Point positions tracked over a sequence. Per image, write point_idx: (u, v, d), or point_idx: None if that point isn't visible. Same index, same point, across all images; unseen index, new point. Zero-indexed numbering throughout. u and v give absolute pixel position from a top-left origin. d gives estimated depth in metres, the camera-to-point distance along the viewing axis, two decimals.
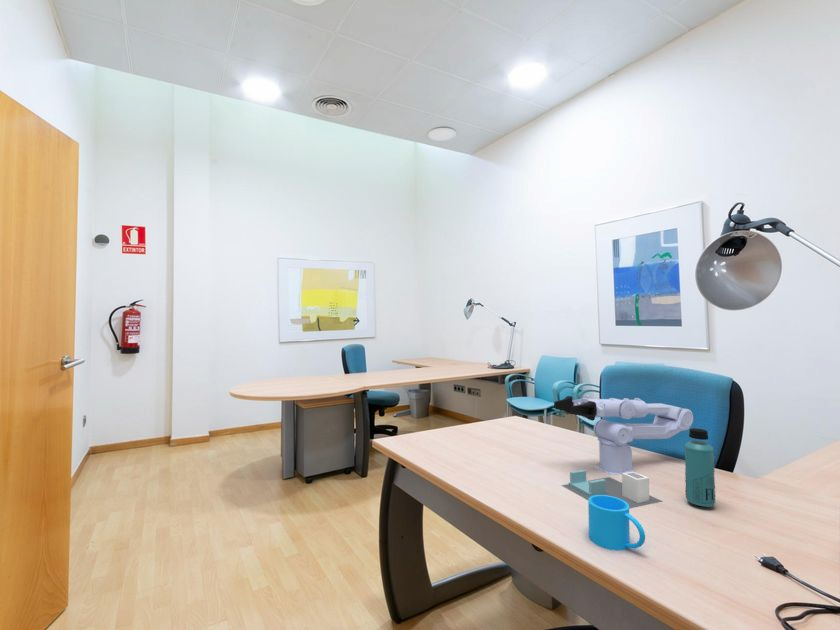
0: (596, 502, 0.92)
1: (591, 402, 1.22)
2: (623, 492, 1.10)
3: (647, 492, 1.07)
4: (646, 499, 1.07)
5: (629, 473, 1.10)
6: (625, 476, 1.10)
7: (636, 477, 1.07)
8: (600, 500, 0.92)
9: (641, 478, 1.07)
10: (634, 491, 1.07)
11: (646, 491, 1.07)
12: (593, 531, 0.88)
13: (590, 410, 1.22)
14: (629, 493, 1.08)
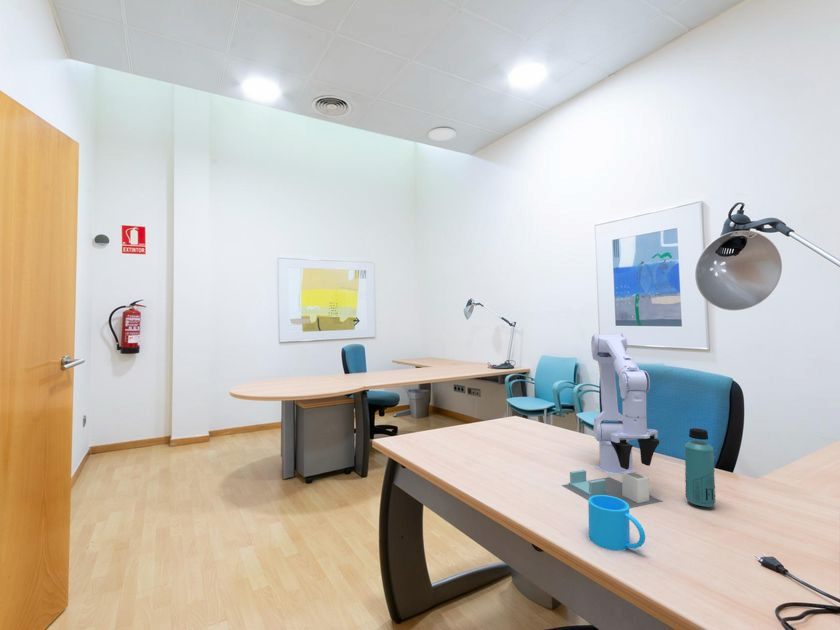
0: (596, 502, 0.92)
1: (656, 443, 1.08)
2: (623, 492, 1.10)
3: (647, 492, 1.07)
4: (646, 499, 1.07)
5: (629, 473, 1.10)
6: (625, 476, 1.10)
7: (636, 477, 1.07)
8: (600, 500, 0.92)
9: (641, 478, 1.07)
10: (634, 491, 1.07)
11: (646, 491, 1.07)
12: (593, 531, 0.88)
13: None
14: (629, 493, 1.08)
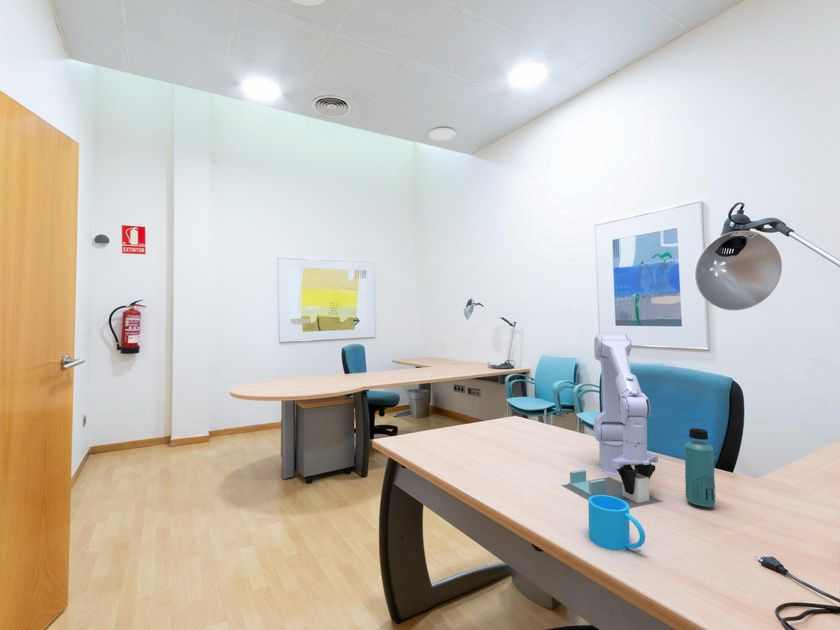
0: (596, 502, 0.92)
1: (653, 469, 1.08)
2: (623, 492, 1.10)
3: (647, 492, 1.07)
4: (646, 499, 1.07)
5: None
6: None
7: (636, 477, 1.07)
8: (600, 500, 0.92)
9: (641, 478, 1.07)
10: (634, 491, 1.07)
11: (646, 491, 1.07)
12: (593, 531, 0.88)
13: None
14: None
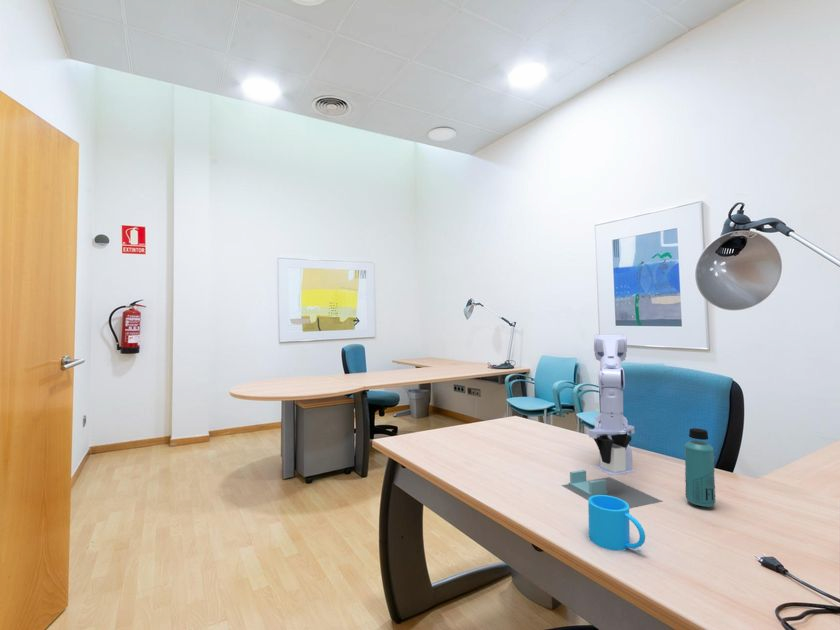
0: (596, 502, 0.92)
1: (629, 439, 1.11)
2: (601, 462, 1.13)
3: (623, 462, 1.10)
4: (622, 468, 1.10)
5: None
6: None
7: (613, 447, 1.10)
8: (599, 500, 0.92)
9: (617, 448, 1.10)
10: (611, 460, 1.10)
11: (622, 461, 1.10)
12: (593, 531, 0.88)
13: None
14: (606, 463, 1.11)
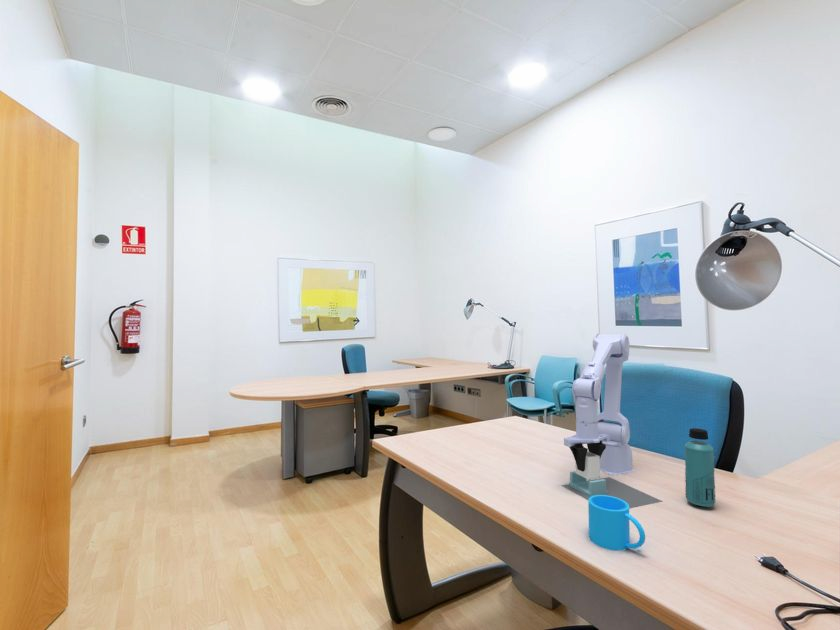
0: (596, 502, 0.92)
1: (603, 448, 1.14)
2: (576, 470, 1.16)
3: (598, 469, 1.13)
4: (596, 476, 1.13)
5: None
6: None
7: (588, 455, 1.13)
8: (600, 500, 0.92)
9: (592, 456, 1.13)
10: (585, 468, 1.13)
11: (596, 469, 1.13)
12: (593, 531, 0.88)
13: None
14: None
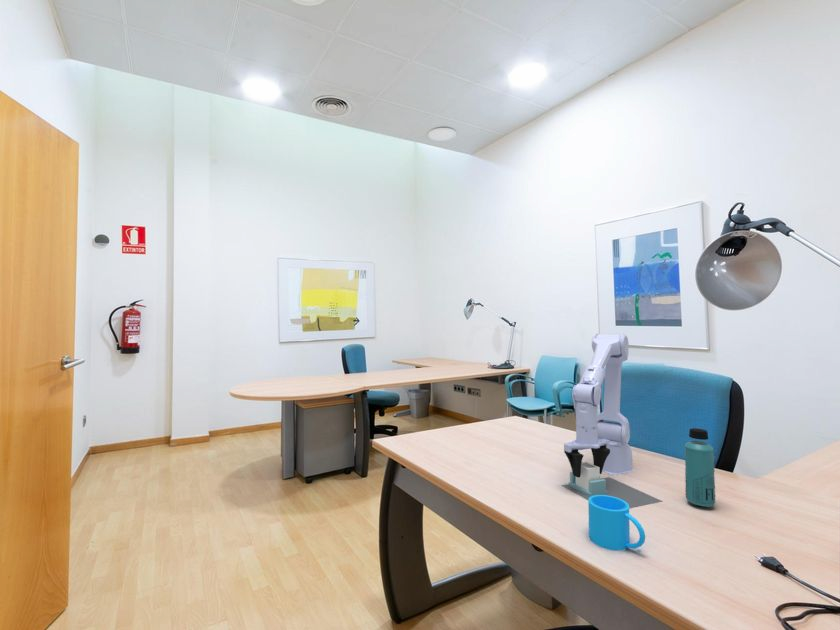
0: (596, 502, 0.92)
1: (607, 452, 1.14)
2: (576, 481, 1.16)
3: None
4: None
5: (582, 463, 1.16)
6: None
7: (588, 467, 1.13)
8: (600, 500, 0.92)
9: (592, 467, 1.13)
10: (585, 480, 1.13)
11: None
12: (593, 531, 0.88)
13: None
14: (581, 482, 1.14)
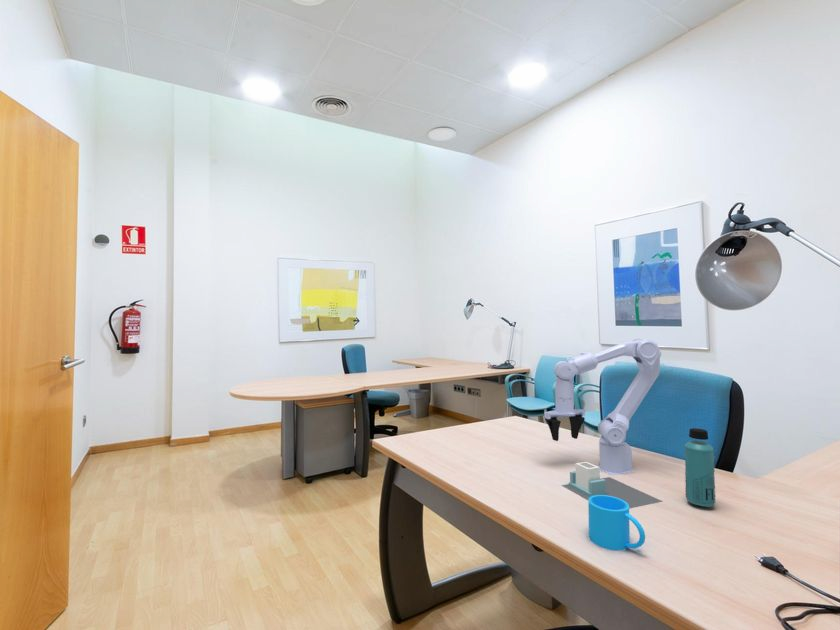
0: (596, 502, 0.92)
1: (582, 420, 1.33)
2: (576, 481, 1.16)
3: None
4: None
5: (582, 463, 1.16)
6: (578, 466, 1.15)
7: (588, 467, 1.13)
8: (600, 500, 0.92)
9: (592, 467, 1.13)
10: (585, 480, 1.13)
11: None
12: (593, 531, 0.88)
13: None
14: (581, 482, 1.14)
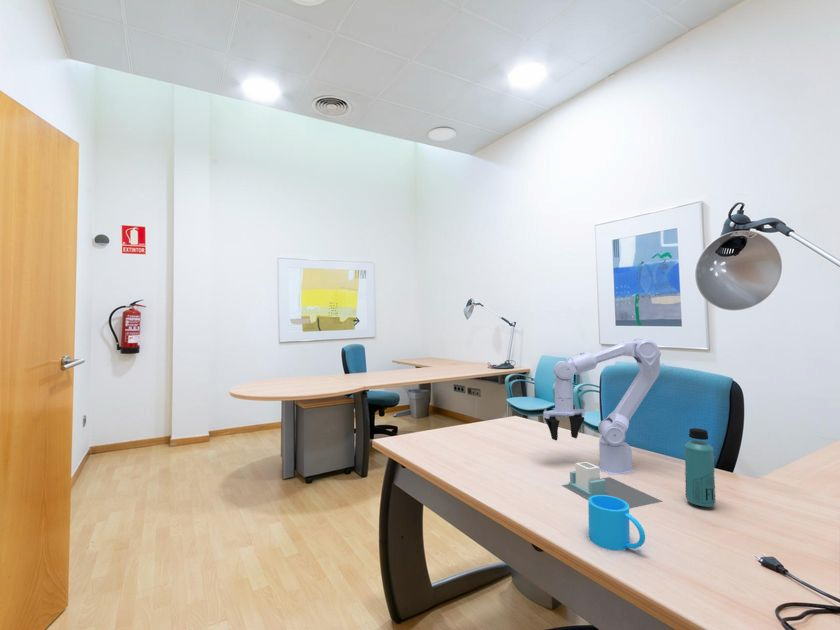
0: (596, 502, 0.92)
1: (582, 420, 1.33)
2: (576, 481, 1.16)
3: None
4: None
5: (582, 463, 1.16)
6: (578, 466, 1.15)
7: (588, 467, 1.13)
8: (599, 500, 0.92)
9: (592, 467, 1.13)
10: (585, 480, 1.13)
11: None
12: (593, 531, 0.88)
13: None
14: (581, 482, 1.14)
